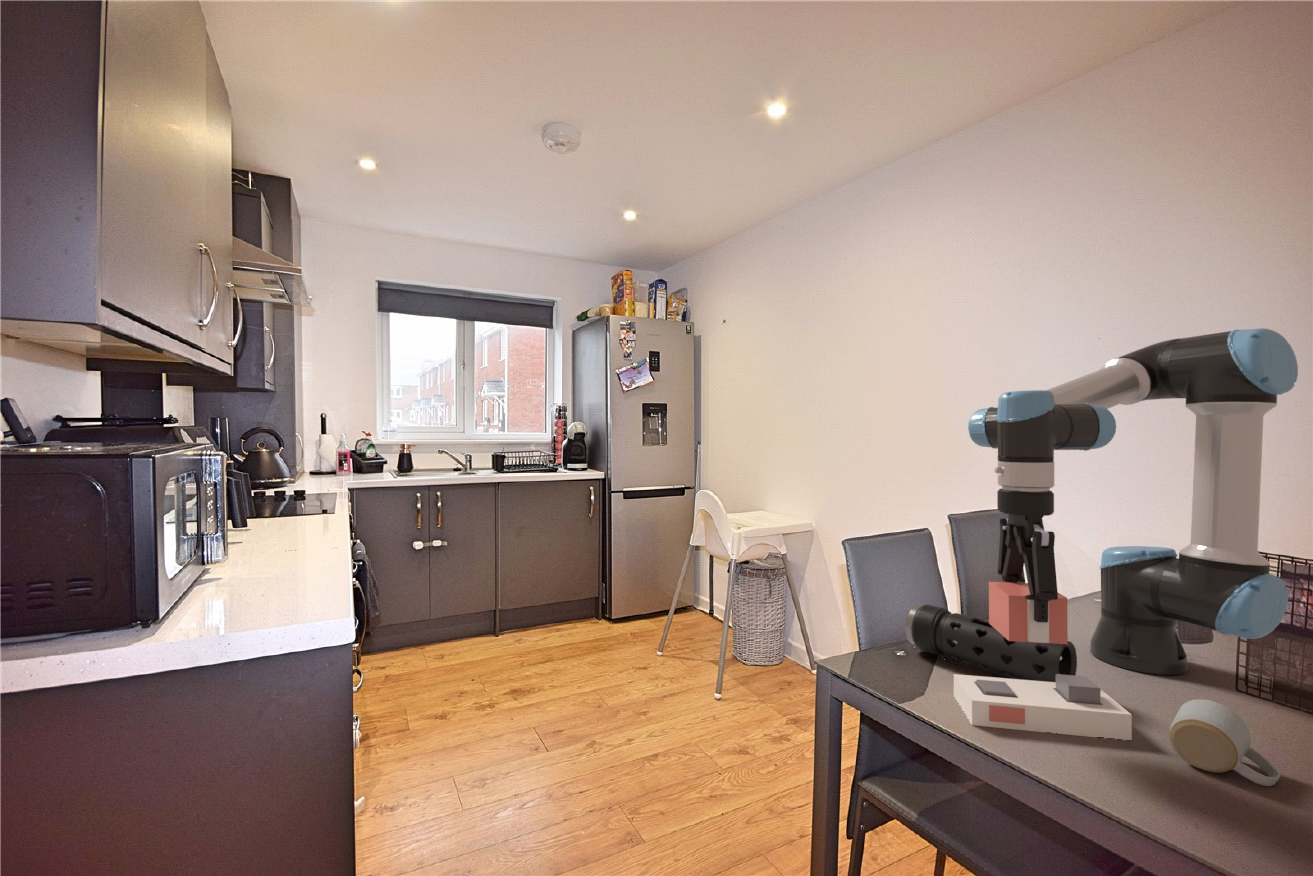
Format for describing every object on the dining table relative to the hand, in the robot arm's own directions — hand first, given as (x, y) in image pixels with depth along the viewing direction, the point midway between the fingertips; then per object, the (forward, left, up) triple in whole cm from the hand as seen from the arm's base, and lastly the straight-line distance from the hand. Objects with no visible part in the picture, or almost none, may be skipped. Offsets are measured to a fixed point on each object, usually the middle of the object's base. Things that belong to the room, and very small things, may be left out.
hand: (1025, 631), depth 90 cm
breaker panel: (-3, -4, -15) cm, 16 cm away
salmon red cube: (0, 0, 0) cm, 0 cm away
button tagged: (+3, -4, -15) cm, 15 cm away
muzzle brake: (-1, -21, -16) cm, 26 cm away
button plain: (-9, -4, -13) cm, 16 cm away
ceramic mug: (-22, +6, -15) cm, 28 cm away
